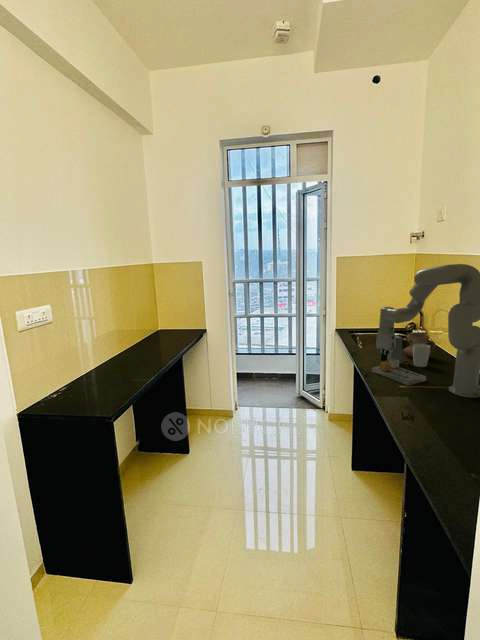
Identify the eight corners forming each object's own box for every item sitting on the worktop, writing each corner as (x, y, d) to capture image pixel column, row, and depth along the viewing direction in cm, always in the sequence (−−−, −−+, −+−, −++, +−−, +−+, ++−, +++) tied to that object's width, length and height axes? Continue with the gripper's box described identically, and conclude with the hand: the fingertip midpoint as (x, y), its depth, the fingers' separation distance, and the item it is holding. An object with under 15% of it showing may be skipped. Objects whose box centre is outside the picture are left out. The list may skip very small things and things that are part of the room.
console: (425, 381, 171) (426, 376, 170) (408, 385, 165) (408, 380, 165) (388, 368, 191) (388, 363, 191) (371, 371, 186) (372, 367, 185)
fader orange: (390, 369, 180) (390, 362, 179) (384, 370, 178) (385, 363, 177) (385, 368, 183) (385, 361, 182) (380, 369, 181) (380, 362, 180)
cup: (411, 366, 193) (412, 346, 191) (411, 362, 201) (413, 342, 199) (429, 368, 189) (430, 348, 187) (428, 364, 197) (430, 344, 195)
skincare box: (402, 363, 198) (404, 337, 195) (390, 364, 198) (391, 338, 196) (395, 359, 207) (397, 334, 204) (384, 359, 207) (385, 334, 204)
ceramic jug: (401, 358, 209) (403, 336, 207) (401, 352, 222) (403, 331, 220) (434, 361, 202) (437, 338, 199) (433, 355, 214) (435, 333, 212)
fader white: (398, 366, 184) (399, 359, 183) (393, 368, 182) (394, 361, 182) (394, 365, 187) (394, 358, 186) (388, 366, 185) (389, 359, 185)
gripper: (402, 331, 182) (399, 363, 185) (380, 325, 195) (378, 356, 199) (392, 332, 179) (390, 365, 182) (371, 327, 192) (368, 357, 196)
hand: (383, 360), depth 190 cm, fingers closed
